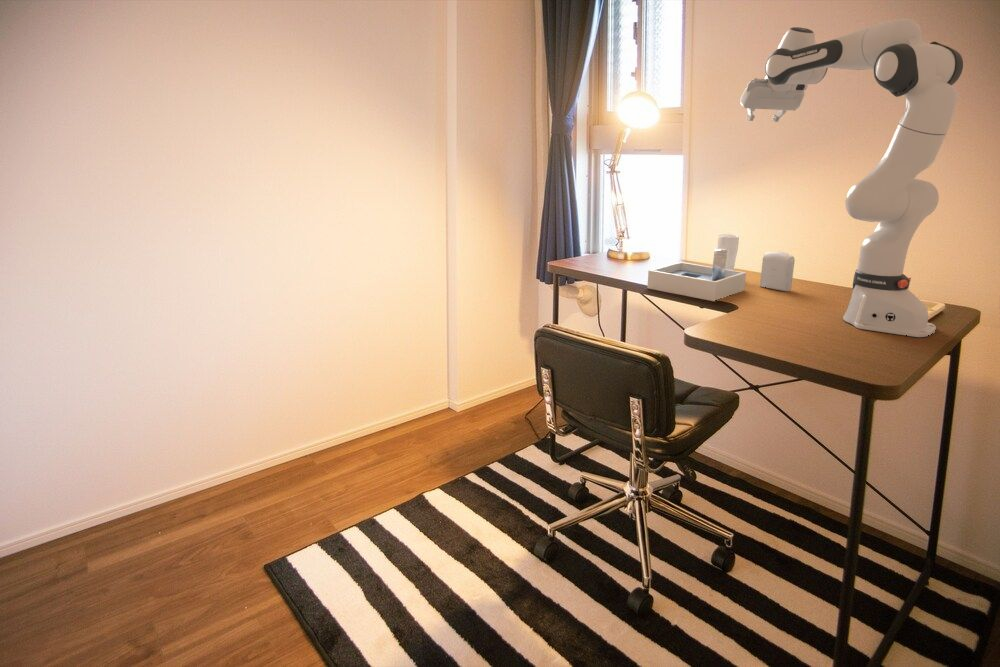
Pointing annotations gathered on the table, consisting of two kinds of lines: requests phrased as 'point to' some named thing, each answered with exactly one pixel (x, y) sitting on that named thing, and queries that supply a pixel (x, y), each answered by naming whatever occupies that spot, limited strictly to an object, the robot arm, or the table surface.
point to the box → (695, 281)
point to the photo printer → (777, 270)
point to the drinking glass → (729, 248)
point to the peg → (719, 264)
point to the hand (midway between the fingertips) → (762, 120)
